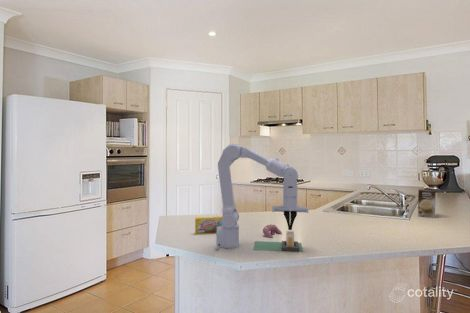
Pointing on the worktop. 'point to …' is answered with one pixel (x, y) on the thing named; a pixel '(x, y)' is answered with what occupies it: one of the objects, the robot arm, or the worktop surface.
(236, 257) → the worktop surface
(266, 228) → the pink toy figure
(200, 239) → the worktop surface
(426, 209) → the coffee box
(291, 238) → the plug
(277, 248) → the circuit board
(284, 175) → the robot arm
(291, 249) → the frame
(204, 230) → the candy box
